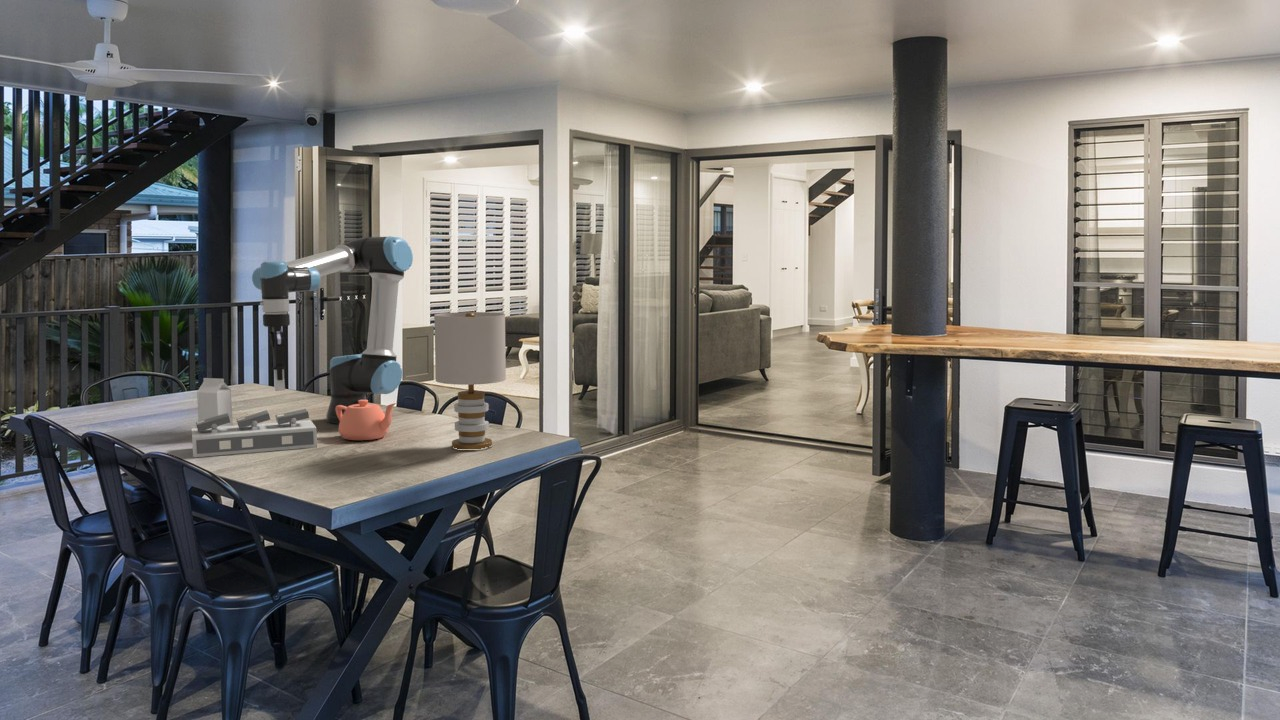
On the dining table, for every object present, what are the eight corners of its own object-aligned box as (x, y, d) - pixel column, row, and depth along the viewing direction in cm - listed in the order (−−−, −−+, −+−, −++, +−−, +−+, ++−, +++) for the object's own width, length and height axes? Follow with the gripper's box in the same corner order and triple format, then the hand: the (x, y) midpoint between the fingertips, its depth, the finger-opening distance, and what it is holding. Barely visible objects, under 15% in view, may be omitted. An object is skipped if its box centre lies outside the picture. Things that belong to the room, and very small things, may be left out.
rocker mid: (269, 417, 285) (266, 409, 284) (271, 421, 279) (268, 412, 278) (238, 426, 281) (235, 418, 280) (239, 430, 275) (237, 422, 275)
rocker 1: (230, 420, 280) (227, 412, 279) (231, 424, 274) (228, 415, 274) (198, 429, 276) (195, 421, 276) (198, 433, 271) (196, 425, 270)
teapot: (409, 435, 300) (408, 398, 299) (383, 444, 286) (382, 405, 284) (350, 431, 306) (349, 394, 305) (322, 440, 292) (320, 401, 291)
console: (311, 438, 294) (310, 416, 294) (317, 447, 281) (316, 424, 281) (192, 448, 280) (191, 425, 279) (193, 457, 267) (192, 434, 266)
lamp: (431, 443, 289) (428, 311, 284) (497, 438, 297) (495, 310, 292) (444, 456, 269) (441, 316, 265) (514, 451, 278) (513, 314, 273)
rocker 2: (307, 416, 290) (305, 408, 289) (309, 419, 284) (307, 411, 283) (276, 422, 286) (275, 414, 285) (278, 426, 280) (277, 418, 280)
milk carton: (219, 440, 292) (216, 380, 290) (199, 439, 293) (196, 379, 291) (233, 435, 299) (230, 377, 296) (213, 434, 300) (210, 376, 298)
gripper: (260, 311, 283) (265, 388, 286) (264, 315, 272) (268, 394, 275) (287, 311, 287) (290, 386, 290) (291, 314, 275) (295, 392, 278)
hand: (280, 390), depth 282 cm, fingers closed
